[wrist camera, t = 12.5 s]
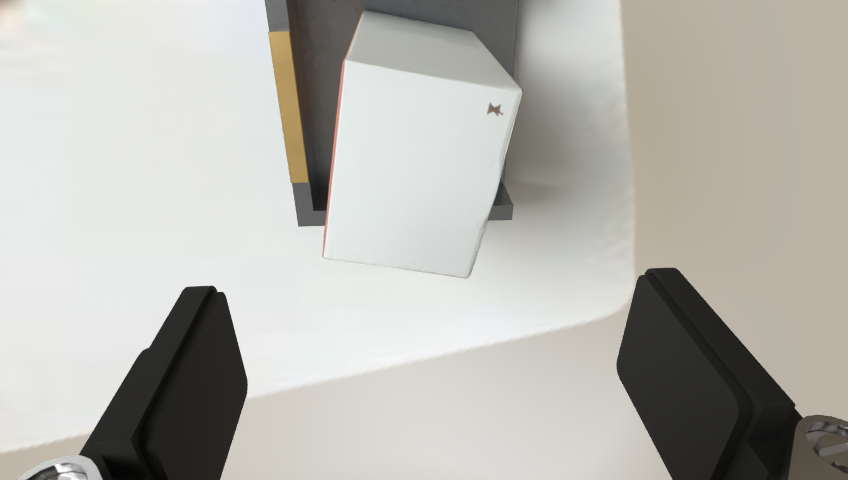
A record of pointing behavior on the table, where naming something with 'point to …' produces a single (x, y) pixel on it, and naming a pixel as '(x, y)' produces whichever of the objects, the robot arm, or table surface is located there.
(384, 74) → the small box
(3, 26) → the table surface
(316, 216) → the cradle
